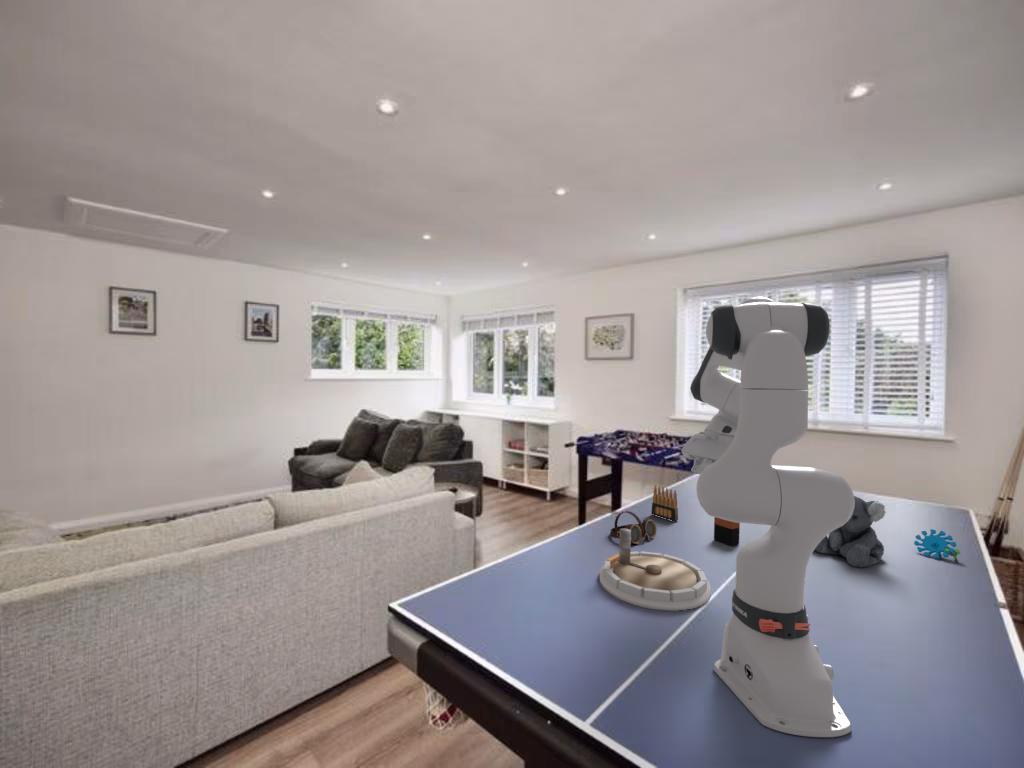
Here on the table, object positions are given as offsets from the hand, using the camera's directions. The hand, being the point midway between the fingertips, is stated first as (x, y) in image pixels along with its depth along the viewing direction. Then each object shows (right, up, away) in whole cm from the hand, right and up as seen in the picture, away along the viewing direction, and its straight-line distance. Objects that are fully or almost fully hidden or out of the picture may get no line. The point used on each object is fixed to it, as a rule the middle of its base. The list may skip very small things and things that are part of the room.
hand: (695, 472), depth 133 cm
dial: (-15, -26, -9) cm, 31 cm away
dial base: (-15, -28, -9) cm, 33 cm away
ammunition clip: (+7, -27, +48) cm, 55 cm away
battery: (+19, -28, +23) cm, 41 cm away
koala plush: (+54, -29, +13) cm, 62 cm away
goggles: (-12, -27, +26) cm, 40 cm away
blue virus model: (+81, -29, +14) cm, 87 cm away
